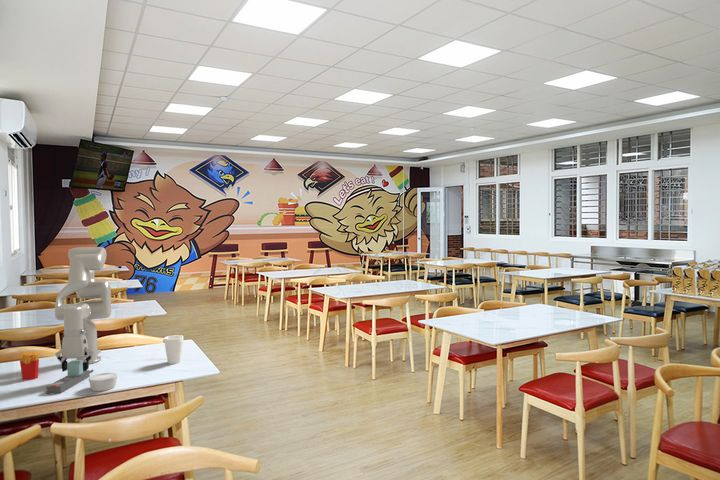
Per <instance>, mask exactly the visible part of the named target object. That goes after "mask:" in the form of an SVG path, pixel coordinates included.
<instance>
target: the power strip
mask: <svg viewBox="0 0 720 480" xmlns="http://www.w3.org/2000/svg"><path fill="white" fill-rule="evenodd" d="M94 370H95V369H91V370H89V369H88V370H86V371H83V373H82V374H80V375H78V376H68V374H67V375H66V376H64V377H62V378H59V379H58V380H57V381H55V382H53V383H51V384H49V385H47V386H46V387H45V388H46V394H50V393H54V394H62V393H65V392H66V391H68V390H70V389H71V388H73V387H74V386H76V385H78V384H79V383H82V381H84V380H87V379H89V378H90V377H91V376H90V374H91V373H93V372H94ZM50 395H51V394H50Z"/></svg>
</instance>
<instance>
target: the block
mask: <svg viewBox="0 0 720 480" xmlns="http://www.w3.org/2000/svg"><path fill="white" fill-rule="evenodd" d="M67 362H68V363H67V370H66V371H67V375H68V376H78V375H80V374H82V373H83V360H76V359H72V360H71V361H67Z"/></svg>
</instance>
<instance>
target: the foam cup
mask: <svg viewBox="0 0 720 480" xmlns="http://www.w3.org/2000/svg"><path fill="white" fill-rule="evenodd" d="M163 343H164V347H165V353H166V359H167V364H169V365H176V364H180V363H181V362H182V353H183V344H184V335H182V334H181V335H180V334H174V335H168V336H165V337H163Z"/></svg>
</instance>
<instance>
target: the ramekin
mask: <svg viewBox="0 0 720 480" xmlns="http://www.w3.org/2000/svg"><path fill="white" fill-rule="evenodd" d="M117 378H118V373H116V372H102V373H97V374H94V375H91V376H90V377H88V382H89V387H90V389H91V390H92V391H93V392H105V391H109V390H111V389H114V388H115V387H116V385H117V380H118V379H117Z"/></svg>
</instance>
